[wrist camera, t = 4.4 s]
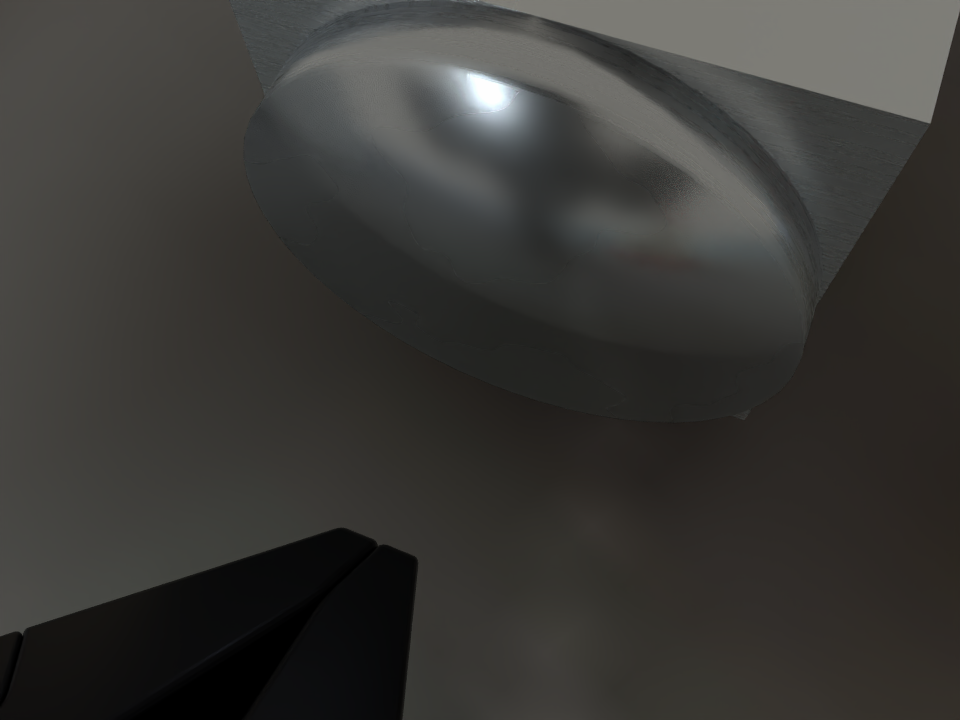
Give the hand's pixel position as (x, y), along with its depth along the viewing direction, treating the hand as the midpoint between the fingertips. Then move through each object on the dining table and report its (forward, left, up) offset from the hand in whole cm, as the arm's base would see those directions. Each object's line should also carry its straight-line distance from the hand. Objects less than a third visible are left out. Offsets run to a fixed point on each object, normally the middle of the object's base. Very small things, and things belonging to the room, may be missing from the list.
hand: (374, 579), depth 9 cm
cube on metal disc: (+5, +6, -3) cm, 8 cm away
